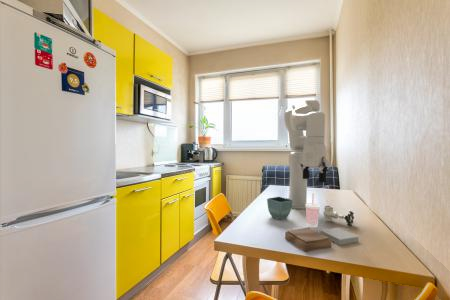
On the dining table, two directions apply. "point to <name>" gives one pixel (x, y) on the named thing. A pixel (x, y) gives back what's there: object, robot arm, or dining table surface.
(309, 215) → the beverage cup
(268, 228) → the dining table surface
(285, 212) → the flower pot
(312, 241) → the walnut stand
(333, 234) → the grey stand
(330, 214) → the valve
